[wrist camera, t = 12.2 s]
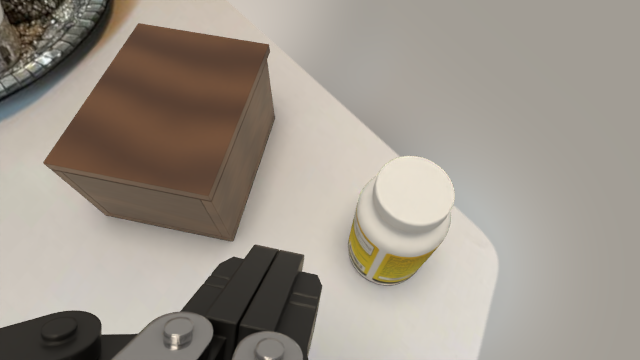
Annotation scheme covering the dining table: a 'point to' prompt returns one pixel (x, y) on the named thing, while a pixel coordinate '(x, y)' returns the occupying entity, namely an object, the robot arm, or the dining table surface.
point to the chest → (191, 212)
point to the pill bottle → (400, 219)
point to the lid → (164, 112)
